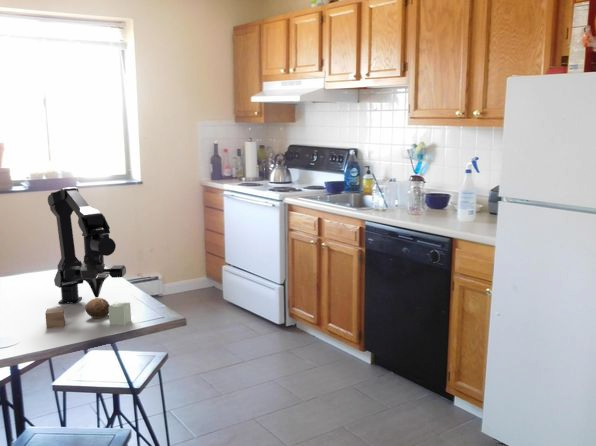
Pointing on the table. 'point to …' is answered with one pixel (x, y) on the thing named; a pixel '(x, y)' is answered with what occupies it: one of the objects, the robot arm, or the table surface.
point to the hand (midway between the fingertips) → (96, 297)
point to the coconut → (97, 308)
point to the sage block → (119, 313)
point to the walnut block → (55, 317)
